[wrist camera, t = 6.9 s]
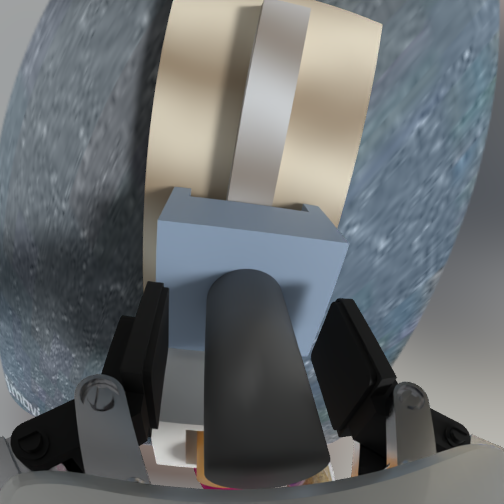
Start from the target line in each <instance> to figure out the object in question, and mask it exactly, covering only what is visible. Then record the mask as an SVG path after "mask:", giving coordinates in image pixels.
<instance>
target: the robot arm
mask: <svg viewBox="0 0 504 504" xmlns="http://www.w3.org/2000/svg"><path fill="white" fill-rule="evenodd" d="M168 347H169V288H168V287H164V283H161V282H153V281H147V284H146V287H145V290H144V293H143V296H142V299H141V302H140V305H139V308H138V311H137V314H136V317H129V316H122V317H121V318H120V321H119V323H118V326H117V329H116V332H115V335H114V337H113V340H112V343H111V346H110V349H109V352H108V355H107V358H106V361H105V364H104V367H103V370H102V374H95V375H91V376H88V377H86V378H84V379H83V380H82V381H81V382H80V383H79V384H78V385H77V387H76V389H75V395H74V398H75V399H73V400H71V401H69V402H67V403H65V404H63V405H60V406H58V407H56V408H54V409H52V410H50V411H48V412H46V413H43V414H41V415H39V416H37V417H35V418H33V419H30V420H28V421H26V422H24V423H22V424H20V425H19V426H17V427H16V428H15V430H14V431H13V433H12V435H11V437H9V438H7V439H5V438H4V437H0V504H504V448H502V447H501V446H498V445H496V444H493V443H491V442H489V441H486V440H484V439H481V438H479V437H477V436H475V435H469V432H468V431H467V429H466V428H465V427H464V426H463V425H462V424H460V423H458V422H456V421H454V420H452V419H450V418H448V417H446V416H444V415H442V414H441V413H439V412H437V411H435V410H433V409H431V408H430V405H429V399H428V397H427V394H426V393H425V392H424V390H423V389H422V388H421V387H420V386H418V385H416V384H414V383H411V382H401V383H399V384H398V383H397V381H396V378H397V377H396V375H395V373H394V371H393V369H392V367H391V366H390V364H389V362H388V360H387V358H386V356H385V355H384V353H383V351H382V349H381V347H380V345H379V344H378V342H377V340H376V338H375V336H374V335H373V333H372V331H371V329H370V328H369V326H368V324H367V322H366V321H365V319H364V317H363V315H362V314H361V312H360V310H359V308H358V307H357V305H356V303H355V302H354V300H353V299H343V298H338V299H337V300H336V301H335V302H332V304H331V306H330V308H329V311H328V314H327V316H326V319H325V321H324V324H323V326H322V329H321V331H320V334H319V336H318V339H317V341H316V343H315V346H314V348H313V351H312V354H311V360H312V364H313V367H314V370H315V373H316V376H317V380H318V383H319V386H320V389H321V392H322V395H323V399H324V402H325V405H326V408H327V412H328V415H329V418H330V421H331V425H332V427H333V429H334V430H337V432H338V436H339V437H346V436H352V438H353V440H354V449H353V462H352V473H351V478H346V479H340V480H335V481H329V482H323V483H316V484H308V485H300V486H291V487H281V488H266V489H239V490H222V489H194V488H181V487H170V486H160V485H151V482H150V479H149V476H148V473H147V470H146V467H145V464H144V461H143V458H142V455H141V451H140V448H139V446H140V445H142V444H143V443H145V442H146V441H147V437H151V436H152V429H158V427H159V418H160V409H161V400H162V392H163V385H164V377H165V370H166V363H167V356H168Z"/></svg>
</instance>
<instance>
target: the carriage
mask: <svg viewBox="0 0 504 504" xmlns="http://www.w3.org/2000/svg"><path fill="white" fill-rule="evenodd" d="M348 246H349V242H348V241H347V240H346V239H345V237H344V236H343V235H342V234H341V233H340V231H339V230H338V229H337V228H336V227H335V225H334V224H333V223H332V222H331V221H330V219H329V218H328V217H327V216H326V215H325V214H324V212H323V211H322V210H321V209H320V208H319V207H318V206H315V205H308V204H303V206H302V210H301V211H298V210H292V209H285V208H278V207H271V206H264V205H257V204H249V203H242V202H234V201H226V200H218V199H210V198H201V197H192V196H191V188H182V187H174V189H173V191H172V193H171V195H170V197H169V199H168V201H167V203H166V204H165V206H164V208H163V210H162V212H161V214H160V216H159V218H158V223H157V248H156V282H161V283H164V287H168V288H169V347H168V348H175V349H185V350H195V351H205V359H204V475H205V477H206V479H207V480H209V481H210V482H212V483H214V484H216V485H219V486H223V487H227V488H234V489H266V488H275V487H281V486H286V485H290V484H293V483H297V482H300V481H302V480H305V479H308V478H310V477H312V476H314V475H316V474H317V473H319V472H321V471H322V470H323V469H325V468H326V467H327V466H328V464H329V462H330V455H329V451H328V448H327V444H326V440H325V437H324V433H323V430H322V426H321V423H320V419H319V416H318V412H317V409H316V405H315V402H314V398H313V395H312V391H311V388H310V384H309V381H308V377H307V374H306V370H305V367H304V364H303V360H302V357H301V356H308V354H309V352H310V349H311V347H312V344H313V342H314V339H315V337H316V334H317V332H318V329H319V327H320V324H321V322H322V319H323V317H324V314H325V311H326V309H327V306H328V303H329V301H330V298H331V295H332V293H333V290H334V287H335V284H336V282H337V279H338V276H339V273H340V270H341V267H342V264H343V261H344V258H345V255H346V252H347V249H348Z"/></svg>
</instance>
